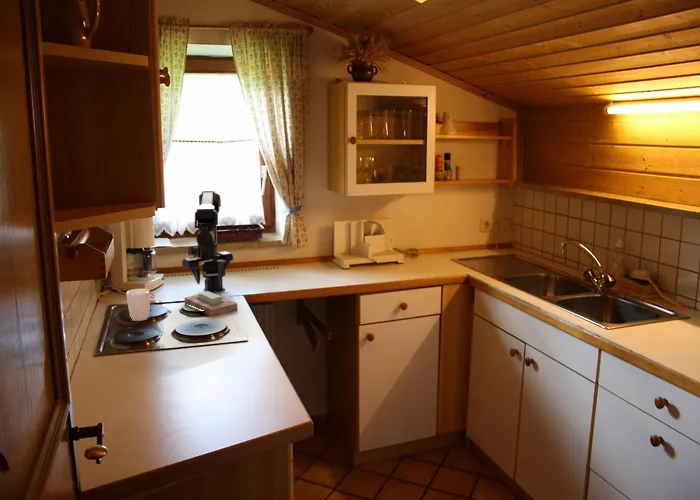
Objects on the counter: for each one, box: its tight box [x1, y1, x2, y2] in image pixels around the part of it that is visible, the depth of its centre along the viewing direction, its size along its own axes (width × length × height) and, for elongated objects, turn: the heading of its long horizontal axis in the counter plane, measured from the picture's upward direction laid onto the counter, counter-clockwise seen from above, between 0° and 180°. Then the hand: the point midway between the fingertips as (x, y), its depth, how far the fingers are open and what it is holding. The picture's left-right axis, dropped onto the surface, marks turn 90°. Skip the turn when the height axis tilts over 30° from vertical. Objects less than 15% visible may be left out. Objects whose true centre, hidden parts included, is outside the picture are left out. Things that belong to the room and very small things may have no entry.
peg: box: [198, 290, 222, 305], centre depth 230 cm, size 10×4×4 cm, turn 44°
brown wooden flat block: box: [184, 293, 238, 318], centre depth 230 cm, size 20×11×3 cm, turn 43°
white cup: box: [125, 288, 151, 322], centre depth 217 cm, size 8×8×10 cm
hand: (209, 281), depth 228 cm, fingers open, 9 cm apart
